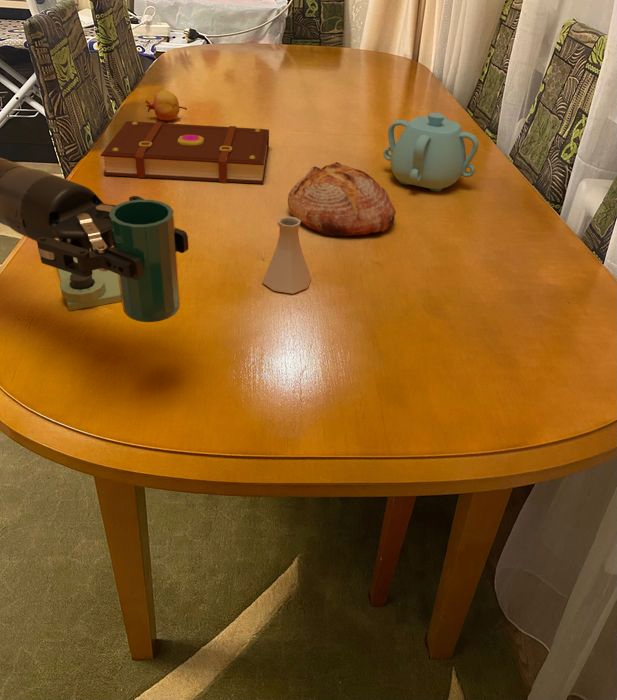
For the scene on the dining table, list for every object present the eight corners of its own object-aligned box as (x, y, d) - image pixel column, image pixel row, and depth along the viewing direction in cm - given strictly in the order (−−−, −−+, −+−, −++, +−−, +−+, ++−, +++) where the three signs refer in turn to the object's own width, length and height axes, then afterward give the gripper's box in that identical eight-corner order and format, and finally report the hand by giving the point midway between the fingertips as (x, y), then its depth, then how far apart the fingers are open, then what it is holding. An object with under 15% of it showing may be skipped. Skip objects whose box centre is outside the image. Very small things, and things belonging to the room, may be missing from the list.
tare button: (73, 292, 82) (71, 282, 81) (70, 282, 84) (68, 272, 83) (94, 288, 83) (93, 278, 82) (91, 278, 85) (89, 269, 84)
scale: (66, 313, 82) (63, 297, 80) (53, 263, 92) (49, 248, 90) (171, 293, 87) (170, 278, 86) (147, 248, 97) (146, 234, 96)
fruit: (186, 91, 150) (144, 89, 149) (186, 91, 144) (142, 89, 142) (187, 120, 153) (146, 119, 151) (187, 122, 147) (144, 120, 145)
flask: (279, 265, 95) (281, 206, 89) (319, 279, 93) (324, 218, 87) (253, 284, 90) (253, 223, 84) (294, 300, 88) (298, 237, 82)
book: (263, 185, 121) (263, 160, 118) (103, 176, 119) (99, 151, 116) (268, 146, 139) (269, 124, 136) (130, 138, 137) (127, 116, 134)
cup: (132, 327, 62) (118, 230, 56) (116, 298, 66) (102, 204, 60) (187, 314, 65) (181, 220, 58) (169, 286, 69) (162, 195, 62)
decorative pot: (376, 167, 132) (384, 102, 124) (444, 165, 136) (456, 101, 127) (401, 197, 120) (412, 128, 112) (476, 194, 123) (491, 126, 115)
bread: (292, 200, 118) (295, 148, 112) (394, 211, 116) (401, 158, 111) (279, 233, 104) (281, 175, 99) (393, 245, 103) (401, 187, 97)
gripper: (102, 218, 74) (210, 260, 68) (-1, 265, 64) (115, 320, 58) (93, 157, 69) (208, 197, 63) (-20, 198, 59) (104, 250, 53)
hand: (163, 256), depth 60 cm, fingers closed on cup, 6 cm apart
